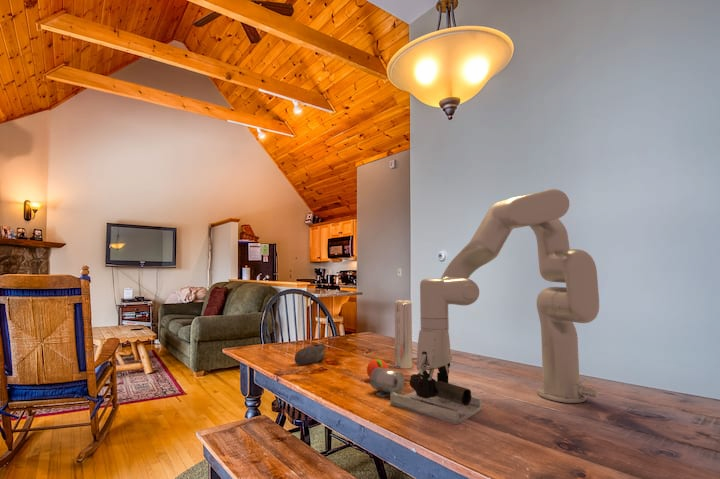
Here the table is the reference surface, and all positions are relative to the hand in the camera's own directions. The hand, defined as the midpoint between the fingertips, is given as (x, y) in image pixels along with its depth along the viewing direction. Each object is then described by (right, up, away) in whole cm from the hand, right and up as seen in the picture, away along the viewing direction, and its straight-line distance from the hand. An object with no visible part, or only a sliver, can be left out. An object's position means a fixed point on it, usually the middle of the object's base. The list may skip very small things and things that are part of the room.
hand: (435, 390), depth 102 cm
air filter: (-4, -8, +42) cm, 43 cm away
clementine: (-14, -6, +24) cm, 29 cm away
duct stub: (-12, -5, +11) cm, 17 cm away
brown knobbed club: (0, -2, 0) cm, 2 cm away
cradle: (0, -4, 0) cm, 4 cm away
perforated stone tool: (-40, -8, +48) cm, 63 cm away
